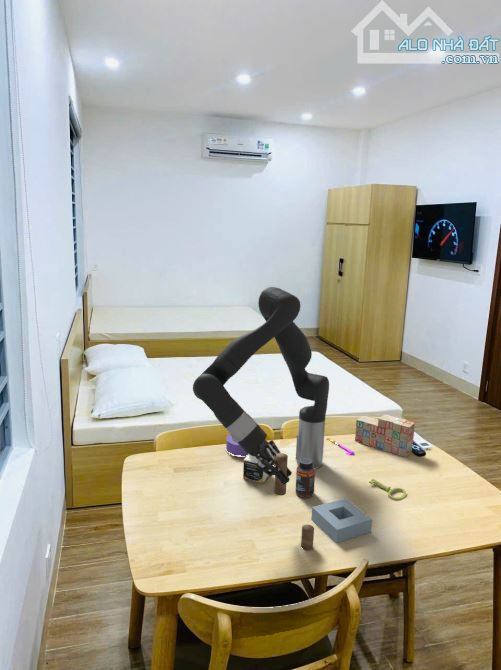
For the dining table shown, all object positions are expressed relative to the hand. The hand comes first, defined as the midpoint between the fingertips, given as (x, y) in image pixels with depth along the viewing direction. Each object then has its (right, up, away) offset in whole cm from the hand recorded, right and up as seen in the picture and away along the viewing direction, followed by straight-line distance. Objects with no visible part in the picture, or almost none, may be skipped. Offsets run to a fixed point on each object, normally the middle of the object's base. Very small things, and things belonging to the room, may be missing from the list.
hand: (288, 478), depth 135 cm
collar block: (+15, -15, +6) cm, 23 cm away
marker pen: (+24, -5, +57) cm, 62 cm away
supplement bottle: (+7, -12, +23) cm, 26 cm away
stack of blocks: (+42, -5, +59) cm, 72 cm away
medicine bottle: (-8, -9, +33) cm, 35 cm away
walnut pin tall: (-2, -4, +1) cm, 5 cm away
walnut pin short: (+5, -17, -4) cm, 18 cm away
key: (+34, -12, +26) cm, 45 cm away
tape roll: (-14, -5, +52) cm, 54 cm away
